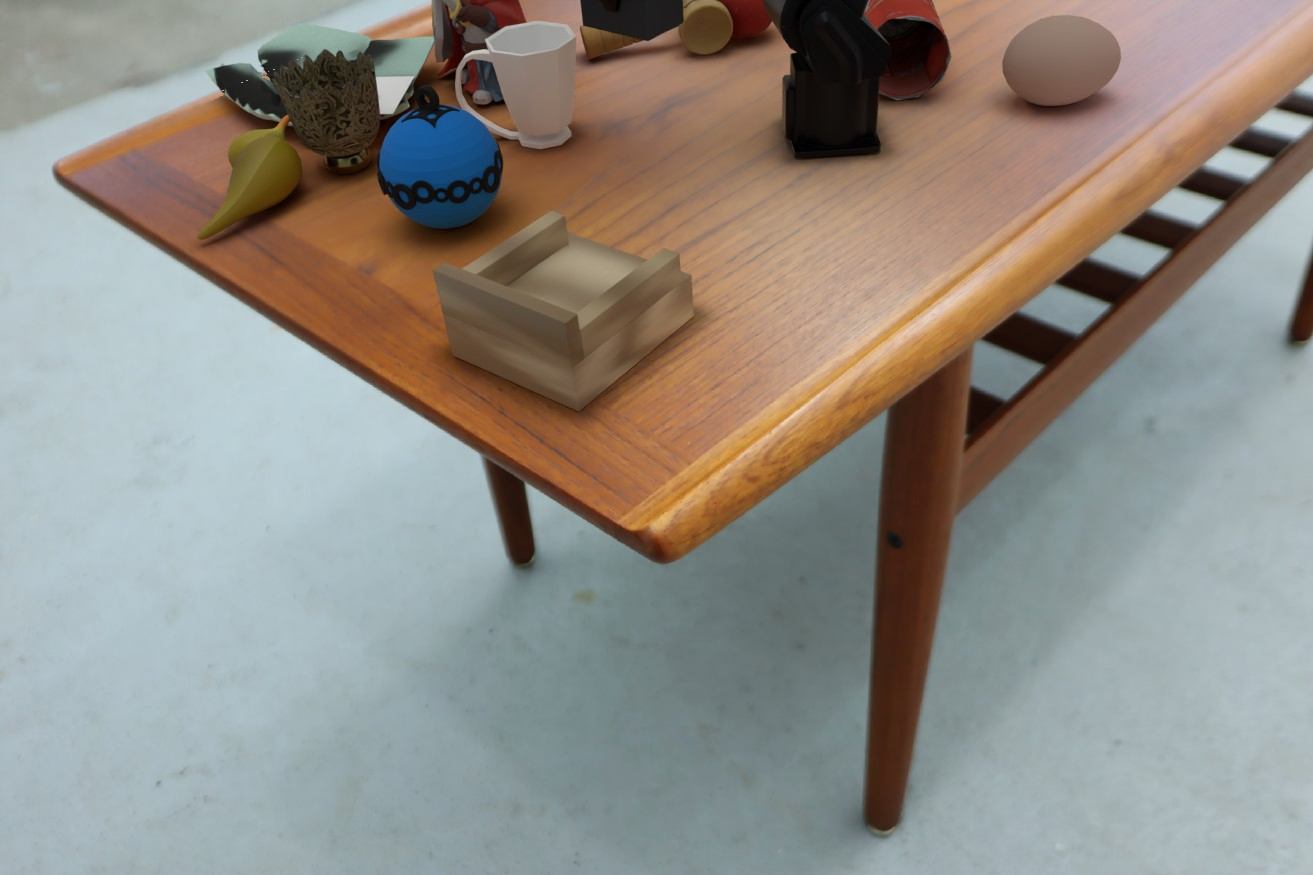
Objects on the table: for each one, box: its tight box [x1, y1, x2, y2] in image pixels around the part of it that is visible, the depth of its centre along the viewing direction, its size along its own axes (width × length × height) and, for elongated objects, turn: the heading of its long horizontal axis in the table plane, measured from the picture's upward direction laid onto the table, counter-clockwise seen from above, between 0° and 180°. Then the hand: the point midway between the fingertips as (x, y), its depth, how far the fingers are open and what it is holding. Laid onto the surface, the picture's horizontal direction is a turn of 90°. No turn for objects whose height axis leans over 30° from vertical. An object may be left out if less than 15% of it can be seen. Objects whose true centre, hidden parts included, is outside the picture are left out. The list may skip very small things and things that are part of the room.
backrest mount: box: [432, 210, 695, 413], centre depth 64 cm, size 11×10×6 cm
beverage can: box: [864, 0, 953, 101], centre depth 91 cm, size 7×12×7 cm, turn 176°
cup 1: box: [272, 49, 381, 175], centre depth 83 cm, size 8×7×8 cm
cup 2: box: [454, 20, 577, 150], centre depth 85 cm, size 7×10×8 cm
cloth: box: [205, 21, 435, 127], centre depth 97 cm, size 20×22×2 cm
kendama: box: [579, 0, 773, 60], centre depth 99 cm, size 8×6×18 cm
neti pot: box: [197, 115, 303, 241], centre depth 82 cm, size 4×15×6 cm
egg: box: [1001, 14, 1122, 107], centre depth 84 cm, size 7×7×9 cm
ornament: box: [376, 84, 504, 230], centre depth 75 cm, size 9×9×10 cm
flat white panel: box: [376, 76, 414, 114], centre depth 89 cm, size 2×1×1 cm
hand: (632, 1), depth 75 cm, fingers closed on back pad, 4 cm apart
